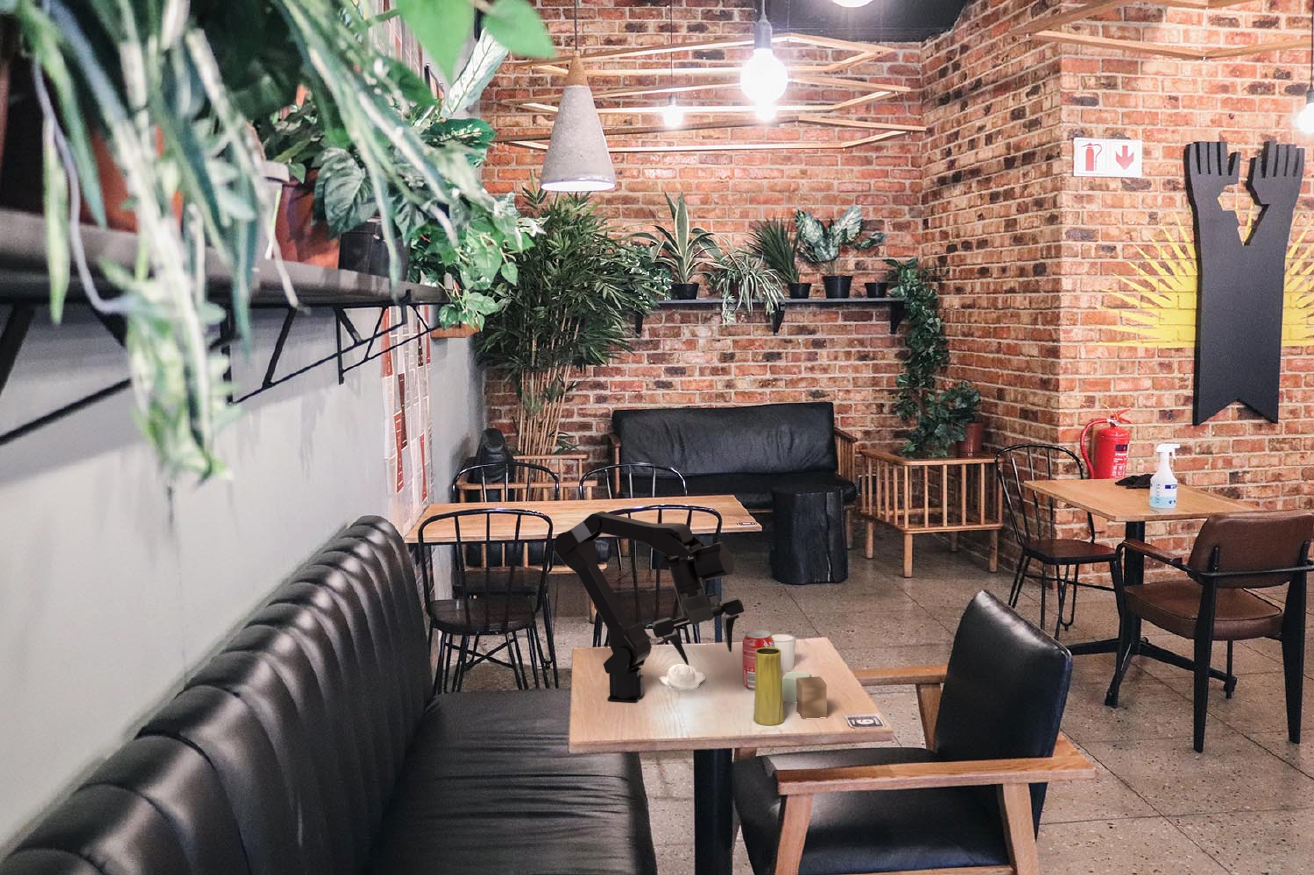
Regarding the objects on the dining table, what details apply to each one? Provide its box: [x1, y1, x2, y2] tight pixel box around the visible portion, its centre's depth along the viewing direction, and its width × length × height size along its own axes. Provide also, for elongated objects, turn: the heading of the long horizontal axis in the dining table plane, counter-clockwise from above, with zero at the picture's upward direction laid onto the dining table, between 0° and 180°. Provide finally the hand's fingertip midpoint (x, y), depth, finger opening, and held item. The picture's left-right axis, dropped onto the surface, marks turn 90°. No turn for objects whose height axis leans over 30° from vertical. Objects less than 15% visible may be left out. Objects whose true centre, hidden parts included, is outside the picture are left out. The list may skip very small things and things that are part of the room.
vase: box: [753, 647, 785, 726], centre depth 214 cm, size 6×6×14 cm
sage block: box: [782, 670, 812, 704], centre depth 227 cm, size 5×5×5 cm
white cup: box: [771, 633, 797, 672], centre depth 248 cm, size 7×7×7 cm
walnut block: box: [796, 676, 828, 720], centre depth 217 cm, size 5×5×7 cm
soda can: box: [741, 629, 775, 691], centre depth 234 cm, size 7×7×12 cm
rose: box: [659, 663, 706, 690], centre depth 238 cm, size 10×4×10 cm
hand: (709, 658), depth 219 cm, fingers open, 9 cm apart
